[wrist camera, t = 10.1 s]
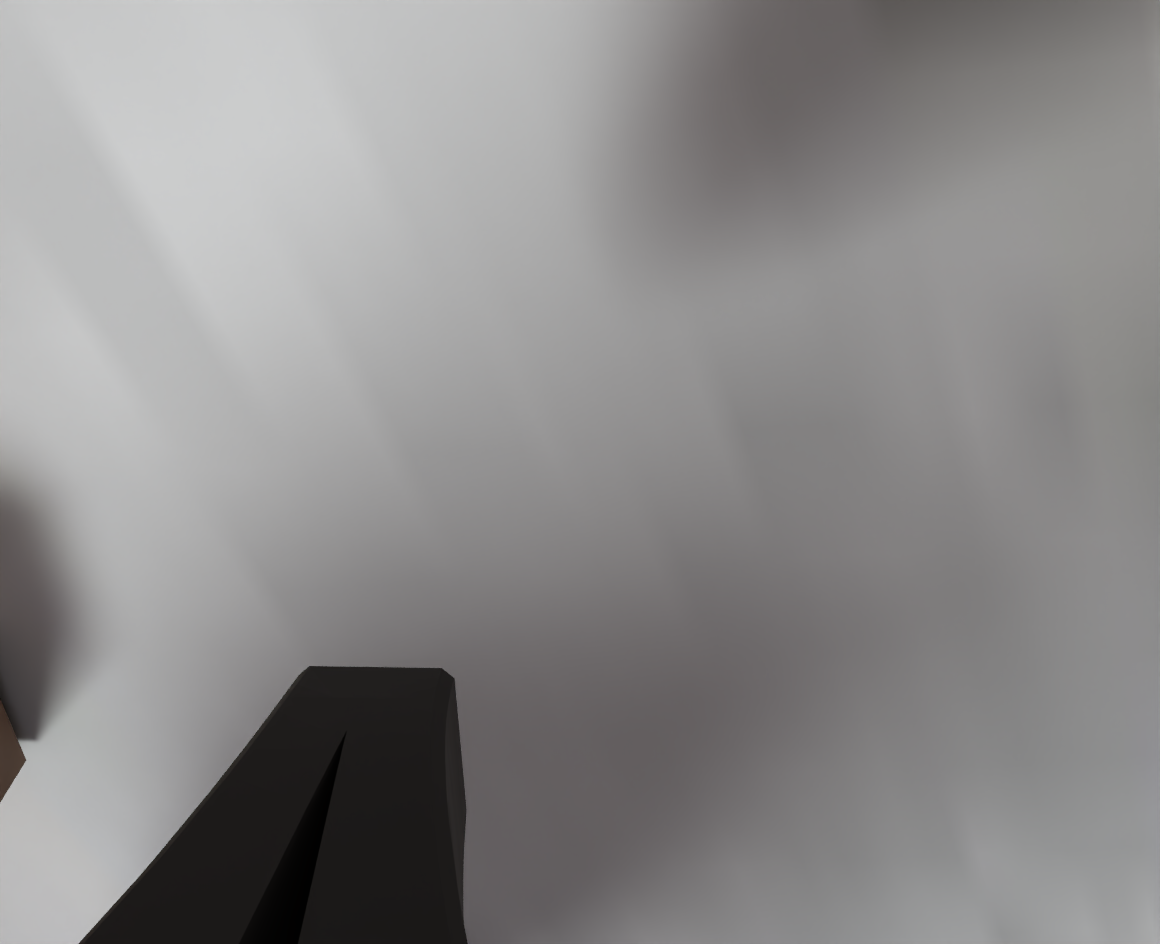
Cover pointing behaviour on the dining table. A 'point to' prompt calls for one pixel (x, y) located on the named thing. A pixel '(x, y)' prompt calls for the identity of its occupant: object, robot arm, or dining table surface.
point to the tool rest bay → (8, 753)
